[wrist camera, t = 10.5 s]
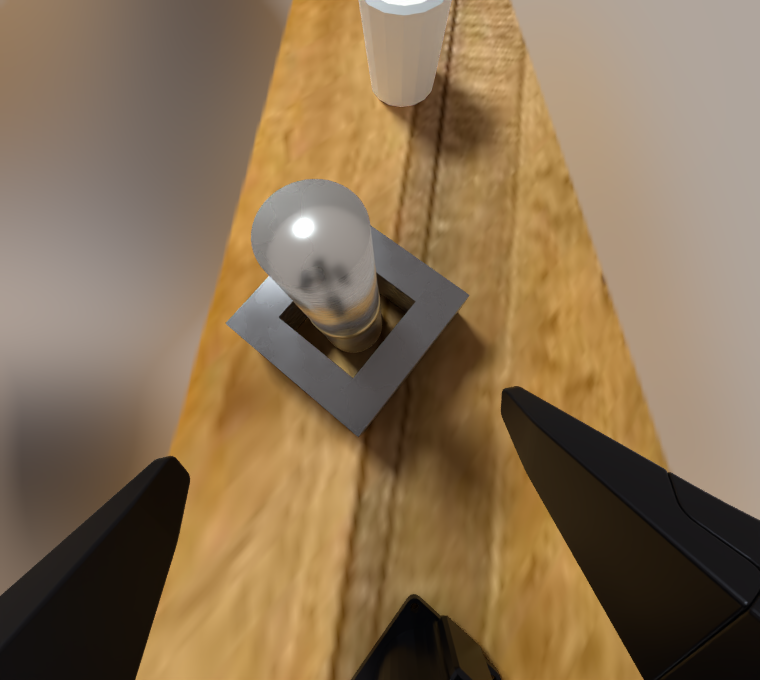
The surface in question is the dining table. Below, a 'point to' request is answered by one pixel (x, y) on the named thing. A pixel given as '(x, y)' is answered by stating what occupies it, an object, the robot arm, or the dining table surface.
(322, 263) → the grey rounded cylinder
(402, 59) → the white cylinder
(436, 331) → the collar block
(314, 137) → the dining table surface
